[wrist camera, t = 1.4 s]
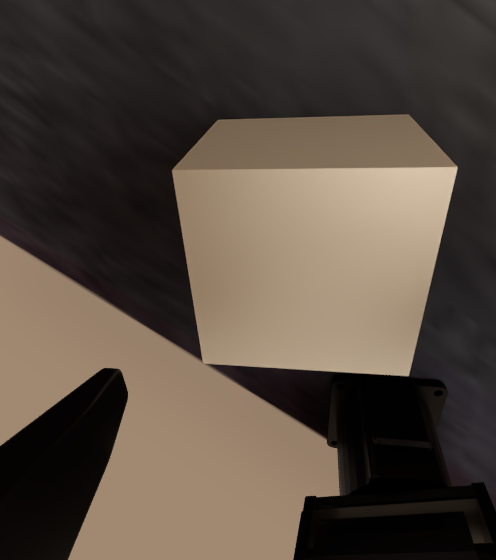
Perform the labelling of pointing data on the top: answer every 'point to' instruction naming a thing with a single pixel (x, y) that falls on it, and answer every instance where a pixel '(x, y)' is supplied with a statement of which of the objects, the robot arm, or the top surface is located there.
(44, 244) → the top surface
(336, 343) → the cream cube
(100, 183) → the top surface
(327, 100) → the top surface
